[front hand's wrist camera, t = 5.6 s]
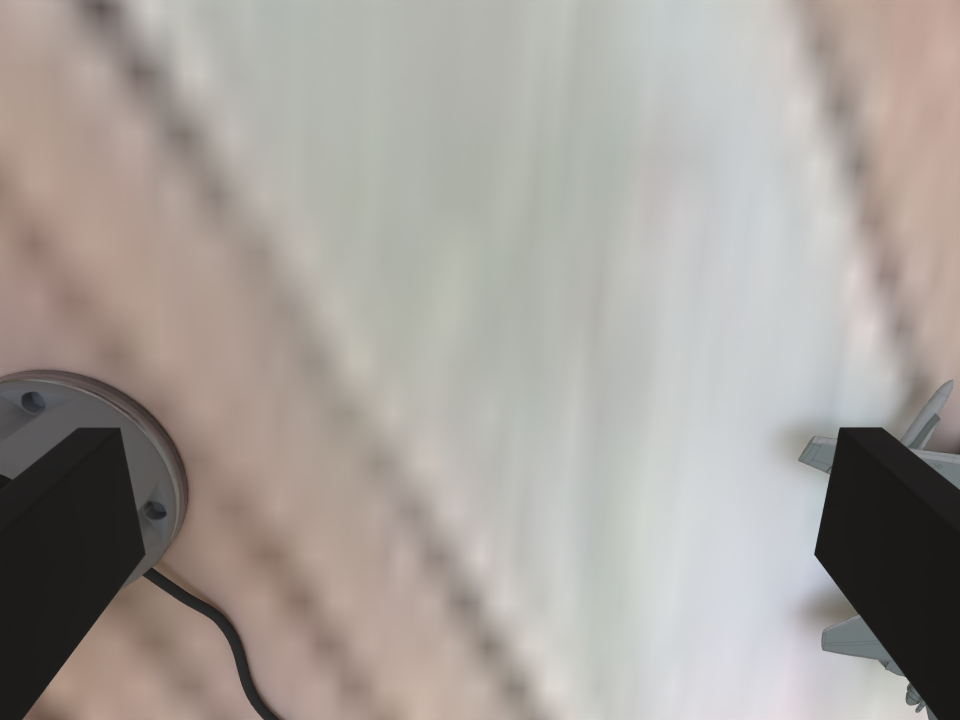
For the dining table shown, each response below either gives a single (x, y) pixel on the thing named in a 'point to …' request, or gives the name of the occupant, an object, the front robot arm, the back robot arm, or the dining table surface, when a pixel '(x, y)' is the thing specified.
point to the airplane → (954, 467)
